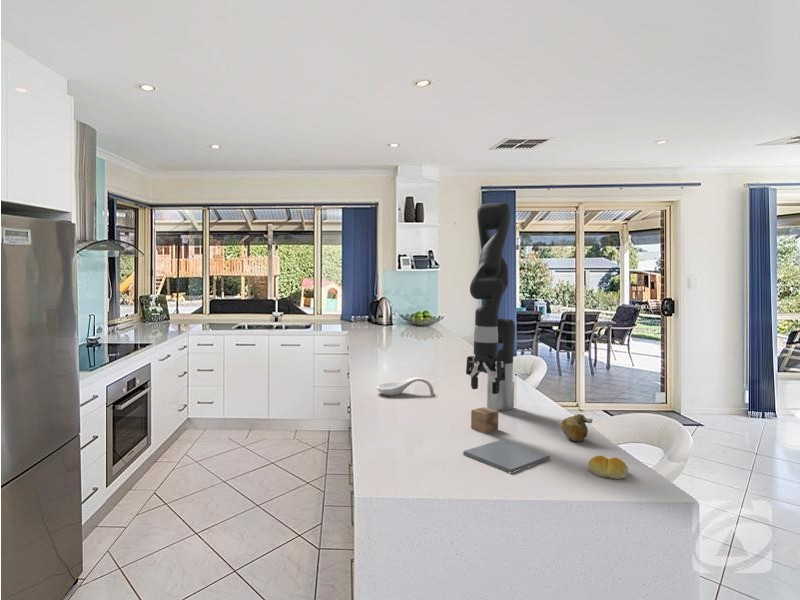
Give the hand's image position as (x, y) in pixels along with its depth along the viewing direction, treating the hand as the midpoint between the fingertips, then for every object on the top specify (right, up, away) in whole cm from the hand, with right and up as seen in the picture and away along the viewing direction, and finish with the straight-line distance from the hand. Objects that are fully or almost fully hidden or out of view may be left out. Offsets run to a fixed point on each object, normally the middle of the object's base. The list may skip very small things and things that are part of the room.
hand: (484, 391), depth 152 cm
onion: (+25, -13, -9) cm, 30 cm away
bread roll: (+25, -14, -34) cm, 44 cm away
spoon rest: (-25, -11, +47) cm, 54 cm away
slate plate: (+2, -13, -24) cm, 27 cm away
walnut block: (0, -12, +1) cm, 12 cm away
